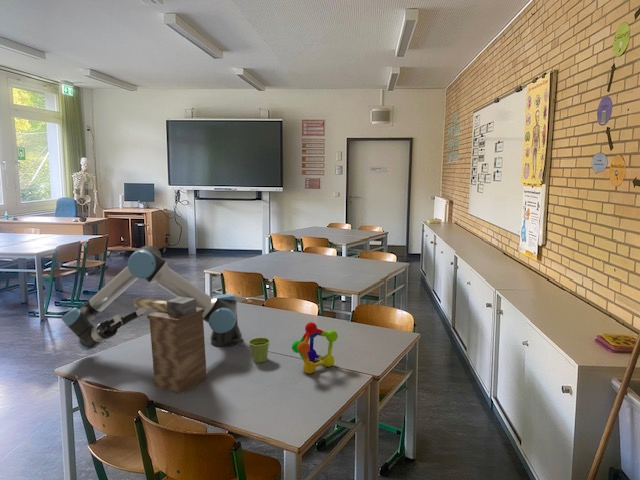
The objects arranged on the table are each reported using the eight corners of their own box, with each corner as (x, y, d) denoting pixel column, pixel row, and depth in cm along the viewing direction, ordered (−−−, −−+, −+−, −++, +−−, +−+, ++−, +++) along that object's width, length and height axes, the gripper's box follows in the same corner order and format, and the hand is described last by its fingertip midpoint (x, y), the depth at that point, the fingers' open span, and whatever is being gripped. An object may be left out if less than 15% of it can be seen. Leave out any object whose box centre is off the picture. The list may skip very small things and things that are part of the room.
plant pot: (245, 363, 199) (244, 343, 198) (255, 354, 208) (254, 336, 207) (264, 365, 196) (264, 346, 195) (274, 357, 205) (273, 338, 204)
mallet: (196, 311, 178) (195, 298, 177) (183, 316, 172) (182, 303, 171) (143, 303, 190) (142, 291, 190) (130, 307, 184) (129, 295, 183)
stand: (208, 377, 186) (204, 308, 181) (182, 394, 173) (177, 319, 168) (180, 371, 192) (175, 304, 188) (152, 386, 179) (147, 314, 175)
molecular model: (304, 379, 181) (302, 329, 180) (280, 371, 192) (277, 324, 191) (341, 365, 196) (339, 319, 194) (316, 357, 207) (314, 314, 205)
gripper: (131, 329, 209) (160, 311, 199) (82, 349, 187) (111, 330, 177) (124, 314, 210) (152, 296, 200) (74, 332, 188) (103, 312, 178)
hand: (133, 312), depth 189 cm, fingers open, 13 cm apart
